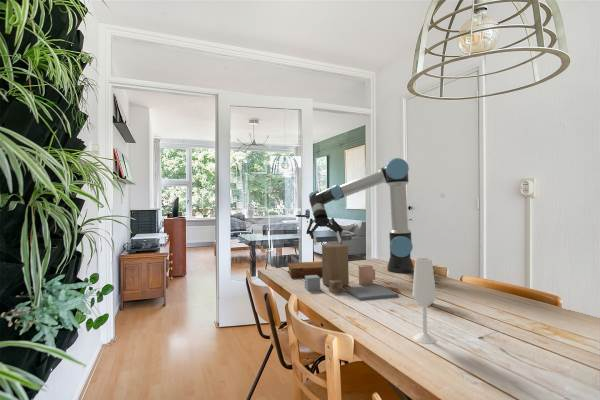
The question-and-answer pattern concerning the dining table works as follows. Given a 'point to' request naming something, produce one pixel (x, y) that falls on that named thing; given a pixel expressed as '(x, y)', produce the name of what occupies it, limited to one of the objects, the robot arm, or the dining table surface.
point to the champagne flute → (424, 293)
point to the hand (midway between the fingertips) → (328, 242)
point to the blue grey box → (312, 282)
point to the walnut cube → (335, 286)
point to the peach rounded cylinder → (366, 275)
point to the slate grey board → (371, 292)
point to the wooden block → (335, 263)
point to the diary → (305, 269)
